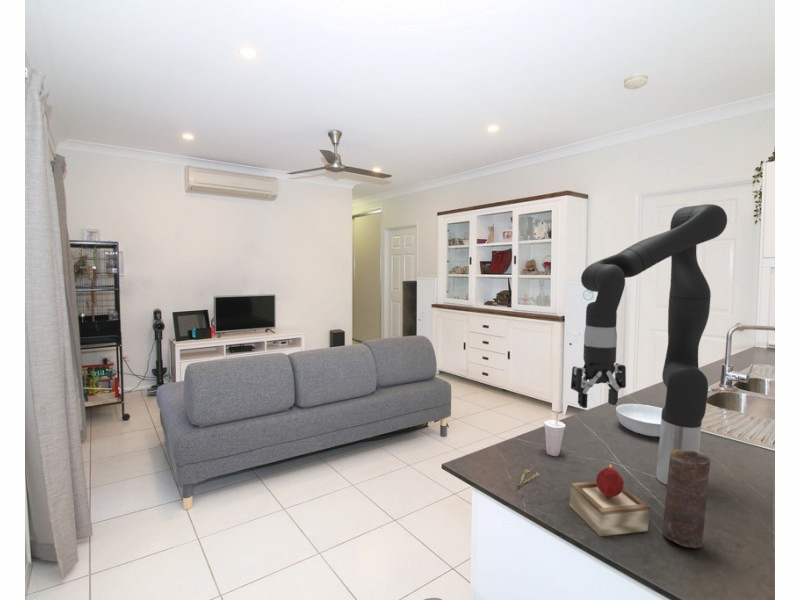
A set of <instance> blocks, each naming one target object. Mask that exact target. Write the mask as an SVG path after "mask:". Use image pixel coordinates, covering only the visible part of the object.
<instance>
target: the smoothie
mask: <svg viewBox="0 0 800 600" xmlns="http://www.w3.org/2000/svg"><path fill="white" fill-rule="evenodd" d="M558 419H559V410H556V411H555V420H554V419H549V420H548V419H547V420H545V421H544V422H543V427H544V433H545V434H544V435H545V448H546V454H547V455H549V456H552V457H558V456H560V452H561V447H562V441H563V436H564V432H565V429H566V424H565V423H564V422H562V421H559V420H558Z"/></svg>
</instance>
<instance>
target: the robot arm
mask: <svg viewBox="0 0 800 600" xmlns="http://www.w3.org/2000/svg"><path fill="white" fill-rule="evenodd" d="M727 225H728V215H727V213H726V211H725V209H724V208H722V207H721V206H720V205H717V204H710V203H706V204H699V205H698V204H697V205H691V206H683V207H680V208H678V209H677V210H676V211H675V212H674V213H673V215H672V217H671V221H670V228H669V230H667V231H665V232H662V233H658V234H655V235H652V236H650V237H646V238H644V239H642V240H640V241H638V242H636V243H634V244H632V245H630V246H629V247H627V248H625V249H623V250H622V251H619V252H618V253H616V254H614V255H613V254H612V255H611V256H608V257H607V256H606V257H605V258H603V259H600V260H598V261H595V262H593V263H591V264H590V265H588V266H586V268H585V269H584V270H583V271H582V273H581V277H580V282H581V284H582V286H583V287H584V288H585V289H586V290H588V291H590V292H592V293H593V292H595V293H596V292H597V295H596V298H595V301H592V302H589V303H588V304H587V305H586V308H585V309H586V310H585V329H584V333H583V362H584V365H583V367H581V366H580V367H578V366H576V365H575V366H573V367H572V368H571V380H570V381H571V383H570V389H571V390H573V391H575V392H577V404H578V405H579V406H580V408H582V409H586V408H587V407H588V391H589V390H590V388H593V387H594V385H595V384H596V385H597V384H606V385H607V387H609V388H608V393H607V394H608V398H607V399H608V400H607V402H608V404H609V405H612V406H616V405H617V403H618V402H619V391H620V390H621V389H625V388H626V386H627V380H626V379H627V378H626V377H627V375H626V374H627V373H626V372H627V370H626V369H627V367H626V365H623V364H621V363H619V362H617V363H616V361H617V348H618V347H617V346H618V345H617V341H618V333H617V319H618V317H617V316H618V314H617V311H618V307H619V306H620V302H621V299H622V297H623V293H624V290H625V286H626V278H633V277H636V276H637V275H640V274H641V273H643V272H645V271H646V270H648V269H650V268H652V267H653V266H655V265H656V264H659V263H660V262H662V261H664V260H666V259H668V258H670V257H671V258H670V259H671V264H670V265H671V268H670V287H669V295H668V297H669V298H668V310H667V311H668V312H667V317H668V318H667V335H668V336H667V338H668V339H667V348H666V353H665V358H664V363H663V364H664V365H663V368H662V374H661V376H662V377H661V378H662V382H663V385H664V386H665V387H666V396H665V404H664V407H663V409H662V415H661V427H660V437H659V440H658V441H659V442H658V452H657V453H658V454H657V464H656V465H657V466H656V479H657V481H659V482H660V483H662V484H664V485H666V486H667V481H668V471H669V461H670V454H671V452H672V451H673V450H676V449H680V450H684V451H694V452H698V453H702V451H701V450H700V444H701V431H702V424H703V423H702V422H703V419H704V418H705V414H706V409H707V405H708V404H707V401H708V396H709V395H708V393H709V383H708V378H707V377H706V375H705V374H704V373H703V372H702V370H700V369H699V346H700V342H701V340H702V339H701V338H702V336H703V333H704V331H705V329H706V327H707V323H708V321H709V317H710V310H711V309H710V308H711V297H712V295H711V294H712V292H711V288H710V286H709V283H708V280H707V279H706V276H705V275H704V273H703V271H702V269H701V268H700V265H699V262H698V258H697V257H698V256H697V248H698V247H697V246H698V245H701V244H703V243H705V242H709V241H711V240H714V239H716V238H718V237H719V236H721V234H723V233H724V231H725V230H726V227H727ZM613 375H614V376H613ZM702 454H703V453H702Z"/></svg>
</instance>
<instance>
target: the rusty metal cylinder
mask: <svg viewBox="0 0 800 600" xmlns="http://www.w3.org/2000/svg"><path fill="white" fill-rule="evenodd" d="M710 466H711V459H710V456H709V457H708V455H707V454H705V453H698V452H694V451H684V450H680V449H676V450H673V451H672V452H671V454H670V461H669V471H668V481H667V485H666V492H665V493H666V494H665V503H664V512H663V520H662V522H663V523H662V533H663V535H664V536H663V537H665V538H666V539H668V540H669V541H672V542H674V543H676V544H677V545H680V546H682V547H684V548H685V547H686V548H693V549H697V548H701V547H702V546H703V540H704V531H705V530H704V529H705V520H706V507H707V496H708V487H709V477H710V476H709V475H710Z"/></svg>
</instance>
